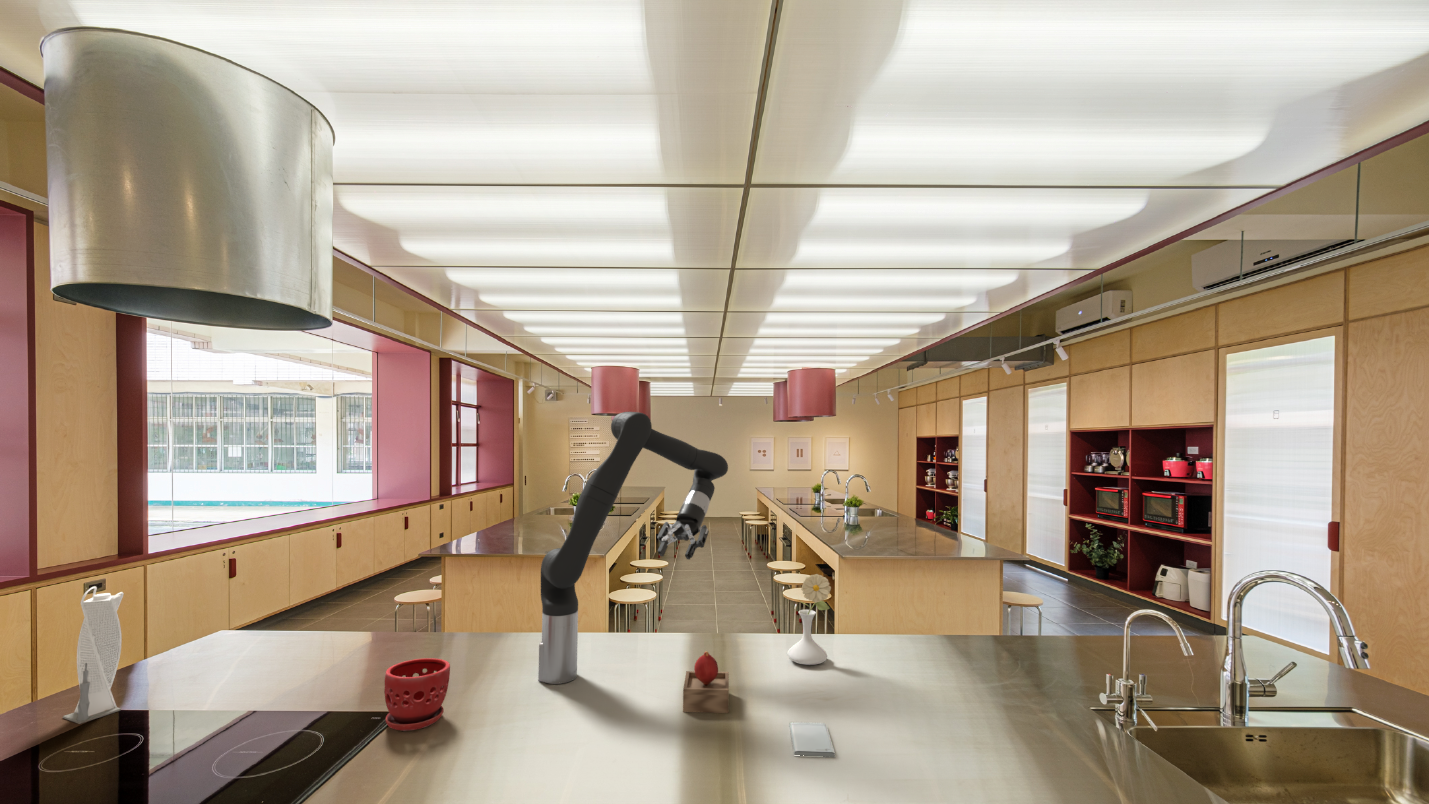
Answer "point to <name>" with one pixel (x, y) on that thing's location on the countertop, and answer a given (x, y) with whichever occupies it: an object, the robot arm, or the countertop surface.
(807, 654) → the flower in vase
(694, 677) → the wooden tray
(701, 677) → the onion
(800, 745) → the hard drive
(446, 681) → the plant pot
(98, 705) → the skyscraper
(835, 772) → the countertop surface
